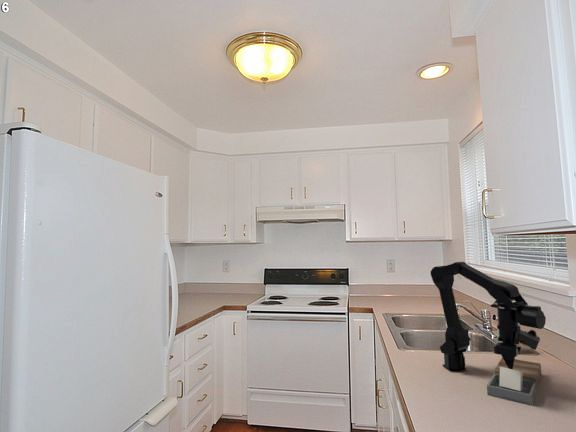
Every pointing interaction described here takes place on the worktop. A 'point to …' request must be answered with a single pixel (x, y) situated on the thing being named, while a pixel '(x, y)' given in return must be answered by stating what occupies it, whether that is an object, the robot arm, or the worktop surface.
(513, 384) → the tile
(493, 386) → the box
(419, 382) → the worktop surface
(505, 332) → the robot arm
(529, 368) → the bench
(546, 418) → the worktop surface
